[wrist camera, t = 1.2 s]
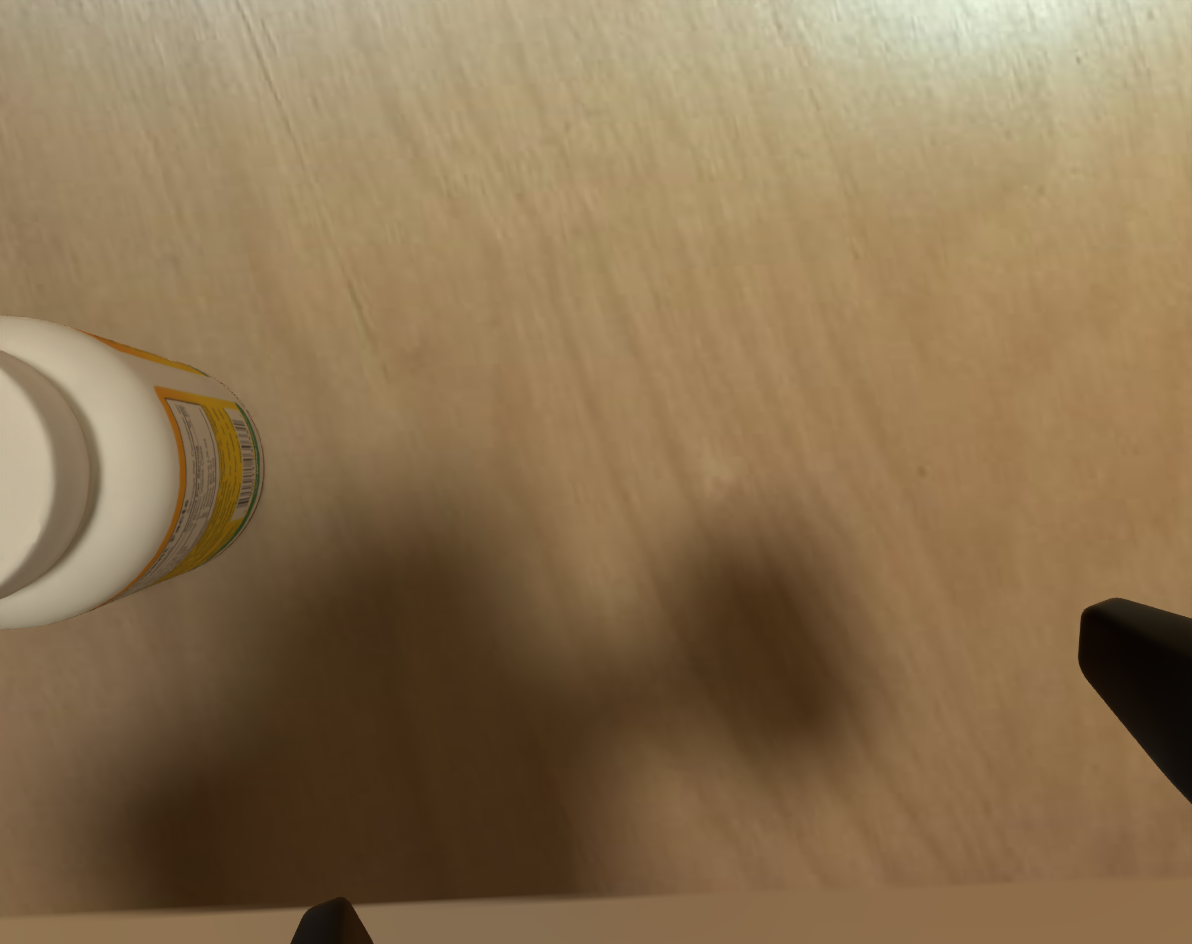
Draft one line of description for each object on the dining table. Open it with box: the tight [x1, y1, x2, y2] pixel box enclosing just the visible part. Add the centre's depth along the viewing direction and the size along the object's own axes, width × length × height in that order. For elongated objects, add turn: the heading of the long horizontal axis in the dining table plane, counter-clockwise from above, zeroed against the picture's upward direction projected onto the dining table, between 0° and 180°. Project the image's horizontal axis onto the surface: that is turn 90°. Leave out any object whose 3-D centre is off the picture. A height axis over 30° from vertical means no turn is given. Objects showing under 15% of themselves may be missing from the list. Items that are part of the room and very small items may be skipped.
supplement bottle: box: [0, 316, 264, 629], centre depth 16 cm, size 5×5×10 cm
